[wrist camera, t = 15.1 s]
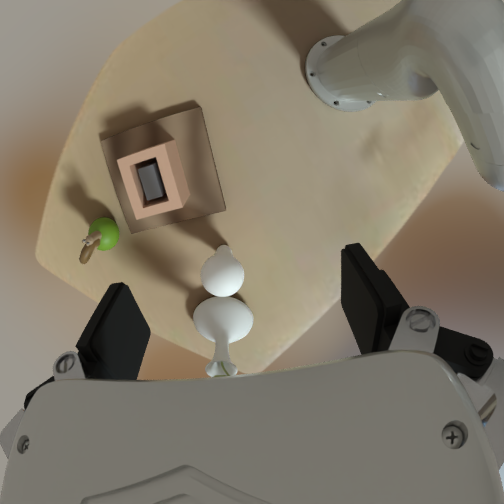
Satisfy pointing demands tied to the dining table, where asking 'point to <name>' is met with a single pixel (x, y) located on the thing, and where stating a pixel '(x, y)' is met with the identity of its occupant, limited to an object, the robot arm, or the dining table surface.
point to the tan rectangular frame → (170, 175)
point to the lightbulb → (222, 273)
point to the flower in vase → (222, 329)
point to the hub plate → (189, 160)
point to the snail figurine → (99, 237)
